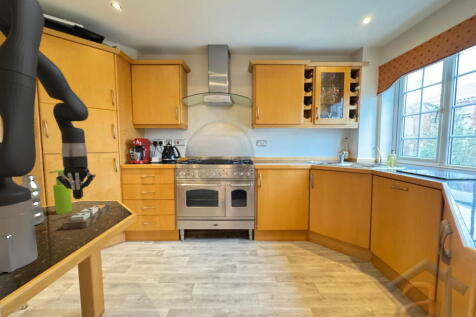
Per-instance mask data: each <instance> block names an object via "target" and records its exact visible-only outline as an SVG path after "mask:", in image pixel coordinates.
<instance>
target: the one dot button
mask: <svg viewBox="0 0 476 317" xmlns="http://www.w3.org/2000/svg"><path fill="white" fill-rule="evenodd" d="M93 205H94V206H93V207H98V209H102V208H103V207H105V205H106V204H93ZM90 207H91V206H90ZM91 208H92V207H91Z"/></svg>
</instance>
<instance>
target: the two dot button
mask: <svg viewBox="0 0 476 317" xmlns="http://www.w3.org/2000/svg"><path fill="white" fill-rule="evenodd" d="M88 217H90V212H87V213H81V212H77V213H75V214H74V215H72V216H70V219H71V221H82V220H85V219H87V218H88Z"/></svg>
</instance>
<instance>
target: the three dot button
mask: <svg viewBox="0 0 476 317" xmlns="http://www.w3.org/2000/svg"><path fill="white" fill-rule="evenodd" d="M97 211H98V207H92V208H89V207H86V208H83V209H82V210H80V212H79V213H87V212H90V214H94V213H96V212H97Z"/></svg>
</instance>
